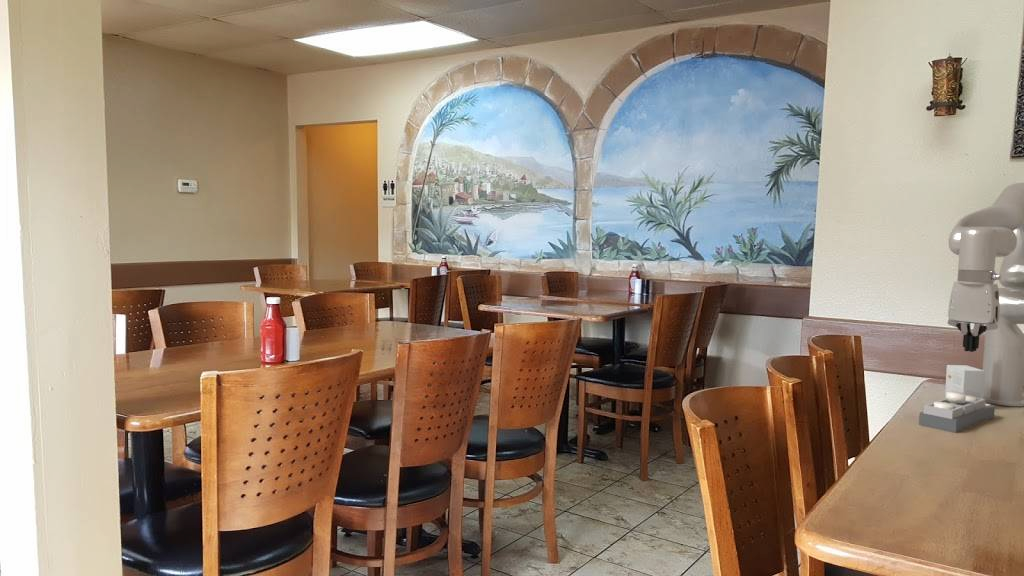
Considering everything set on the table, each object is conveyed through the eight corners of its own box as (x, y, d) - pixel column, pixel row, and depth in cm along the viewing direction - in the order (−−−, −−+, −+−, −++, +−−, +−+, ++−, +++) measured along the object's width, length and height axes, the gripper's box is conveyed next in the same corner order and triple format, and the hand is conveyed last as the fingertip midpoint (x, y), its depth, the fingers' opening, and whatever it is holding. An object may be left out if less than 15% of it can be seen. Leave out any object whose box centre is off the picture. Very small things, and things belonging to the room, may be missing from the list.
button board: (958, 410, 185) (960, 391, 184) (994, 417, 179) (995, 398, 178) (918, 424, 170) (920, 404, 170) (955, 432, 164) (957, 411, 163)
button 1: (937, 409, 171) (938, 400, 171) (955, 412, 168) (956, 404, 168) (930, 411, 169) (931, 403, 169) (949, 415, 166) (949, 406, 166)
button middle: (949, 398, 175) (950, 390, 175) (967, 401, 172) (968, 393, 172) (943, 400, 173) (943, 392, 173) (961, 404, 170) (962, 396, 170)
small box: (983, 410, 186) (986, 370, 185) (961, 409, 186) (964, 370, 185) (964, 402, 194) (967, 364, 193) (943, 402, 194) (946, 364, 193)
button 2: (960, 401, 180) (961, 393, 180) (978, 404, 177) (979, 396, 177) (954, 403, 177) (954, 395, 177) (972, 406, 174) (972, 398, 174)
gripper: (1016, 279, 171) (1010, 353, 173) (948, 275, 183) (943, 345, 184) (1005, 280, 166) (999, 357, 168) (936, 276, 178) (931, 348, 180)
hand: (970, 350), depth 176 cm, fingers closed
